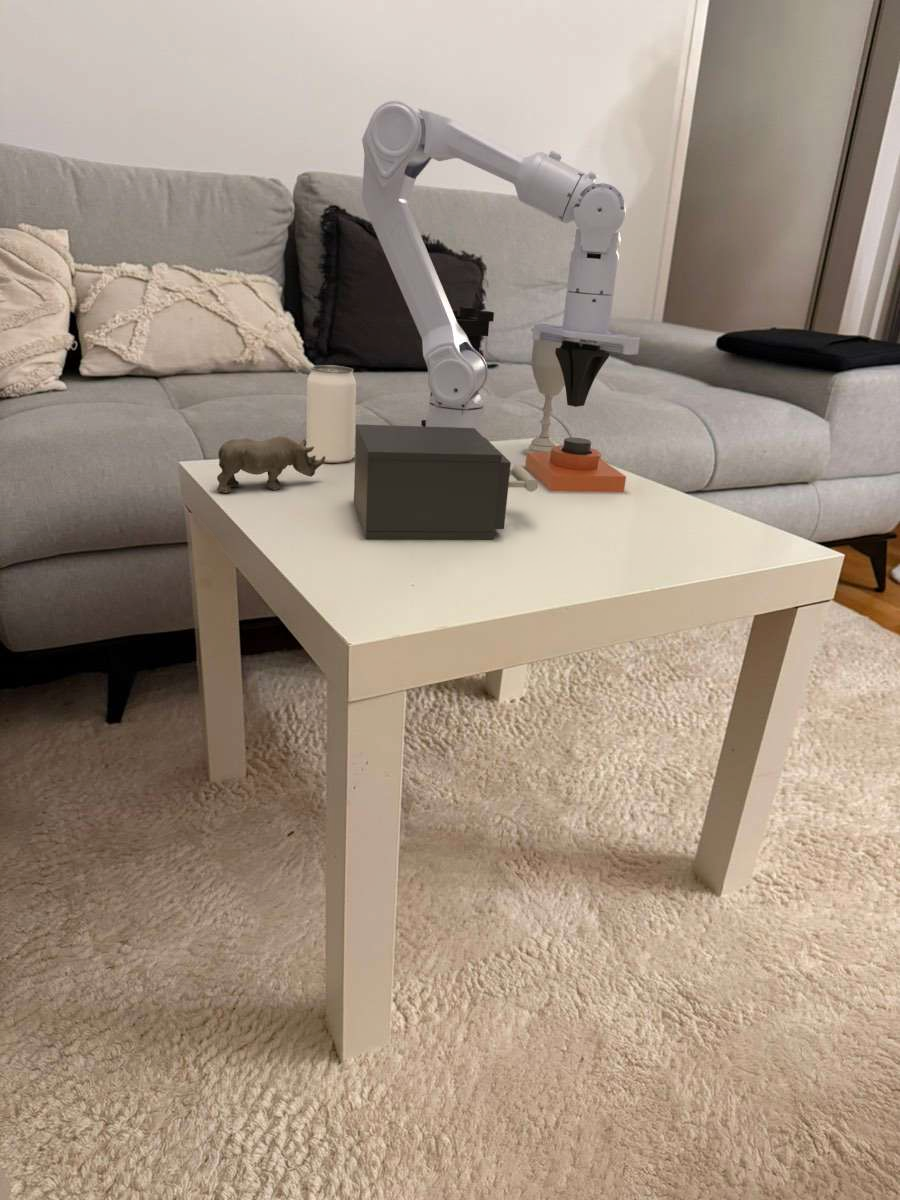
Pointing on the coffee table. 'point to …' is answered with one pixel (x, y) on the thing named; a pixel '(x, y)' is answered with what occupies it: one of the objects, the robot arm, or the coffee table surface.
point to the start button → (577, 446)
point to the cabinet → (425, 482)
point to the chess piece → (472, 327)
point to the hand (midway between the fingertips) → (575, 405)
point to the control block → (574, 471)
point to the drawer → (504, 483)
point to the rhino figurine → (263, 460)
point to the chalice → (546, 388)
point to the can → (331, 413)
